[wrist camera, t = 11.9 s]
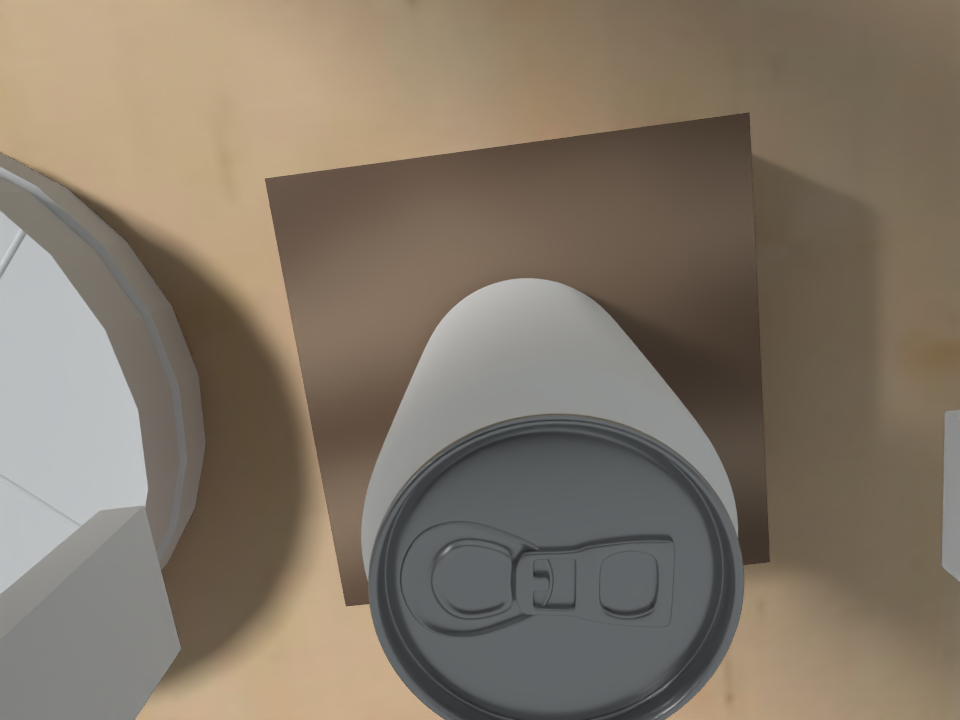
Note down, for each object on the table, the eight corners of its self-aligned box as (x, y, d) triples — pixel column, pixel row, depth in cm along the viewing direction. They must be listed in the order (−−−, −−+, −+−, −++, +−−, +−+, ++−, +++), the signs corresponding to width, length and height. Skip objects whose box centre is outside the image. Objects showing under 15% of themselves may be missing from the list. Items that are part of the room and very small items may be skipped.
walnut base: (314, 181, 27) (265, 178, 21) (694, 129, 27) (749, 112, 21) (375, 526, 30) (346, 606, 25) (716, 488, 30) (769, 562, 24)
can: (417, 276, 22) (324, 387, 10) (635, 273, 22) (793, 383, 10) (424, 478, 23) (351, 775, 12) (628, 477, 23) (758, 777, 12)
